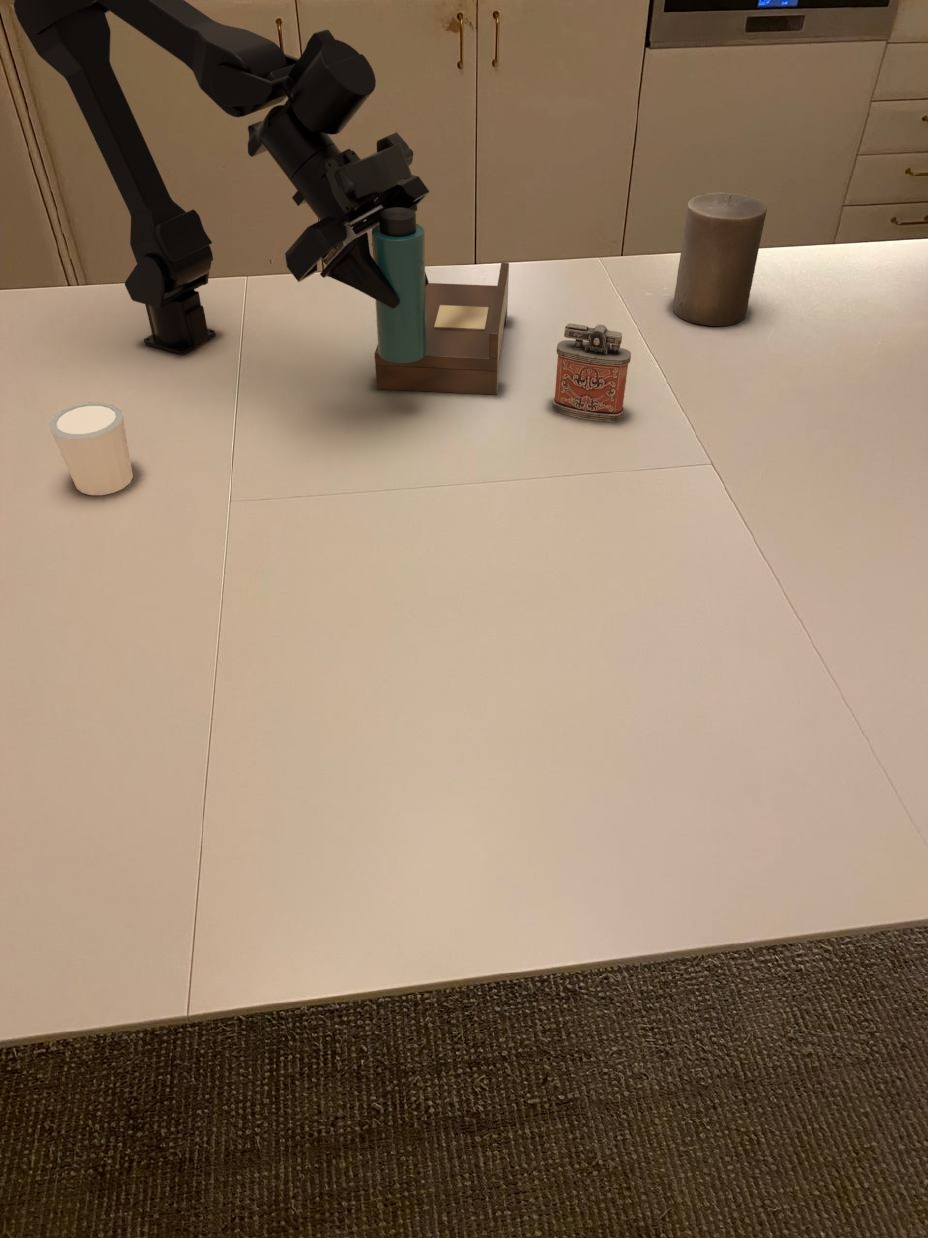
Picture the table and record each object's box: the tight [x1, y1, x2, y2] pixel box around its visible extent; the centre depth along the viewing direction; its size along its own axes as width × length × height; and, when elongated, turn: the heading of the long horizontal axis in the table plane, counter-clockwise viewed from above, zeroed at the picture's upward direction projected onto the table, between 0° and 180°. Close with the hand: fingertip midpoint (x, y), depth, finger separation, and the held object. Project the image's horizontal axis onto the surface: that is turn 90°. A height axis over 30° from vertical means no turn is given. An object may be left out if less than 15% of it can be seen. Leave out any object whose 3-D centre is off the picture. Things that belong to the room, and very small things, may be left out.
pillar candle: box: [672, 191, 768, 327], centre depth 122 cm, size 10×10×15 cm
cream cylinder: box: [49, 402, 134, 496], centre depth 94 cm, size 7×7×7 cm
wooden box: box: [374, 262, 510, 396], centre depth 115 cm, size 14×20×8 cm
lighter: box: [552, 322, 632, 423], centre depth 104 cm, size 8×3×10 cm, turn 71°
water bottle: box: [371, 207, 427, 363], centre depth 98 cm, size 5×5×15 cm
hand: (411, 295), depth 98 cm, fingers closed on water bottle, 5 cm apart
